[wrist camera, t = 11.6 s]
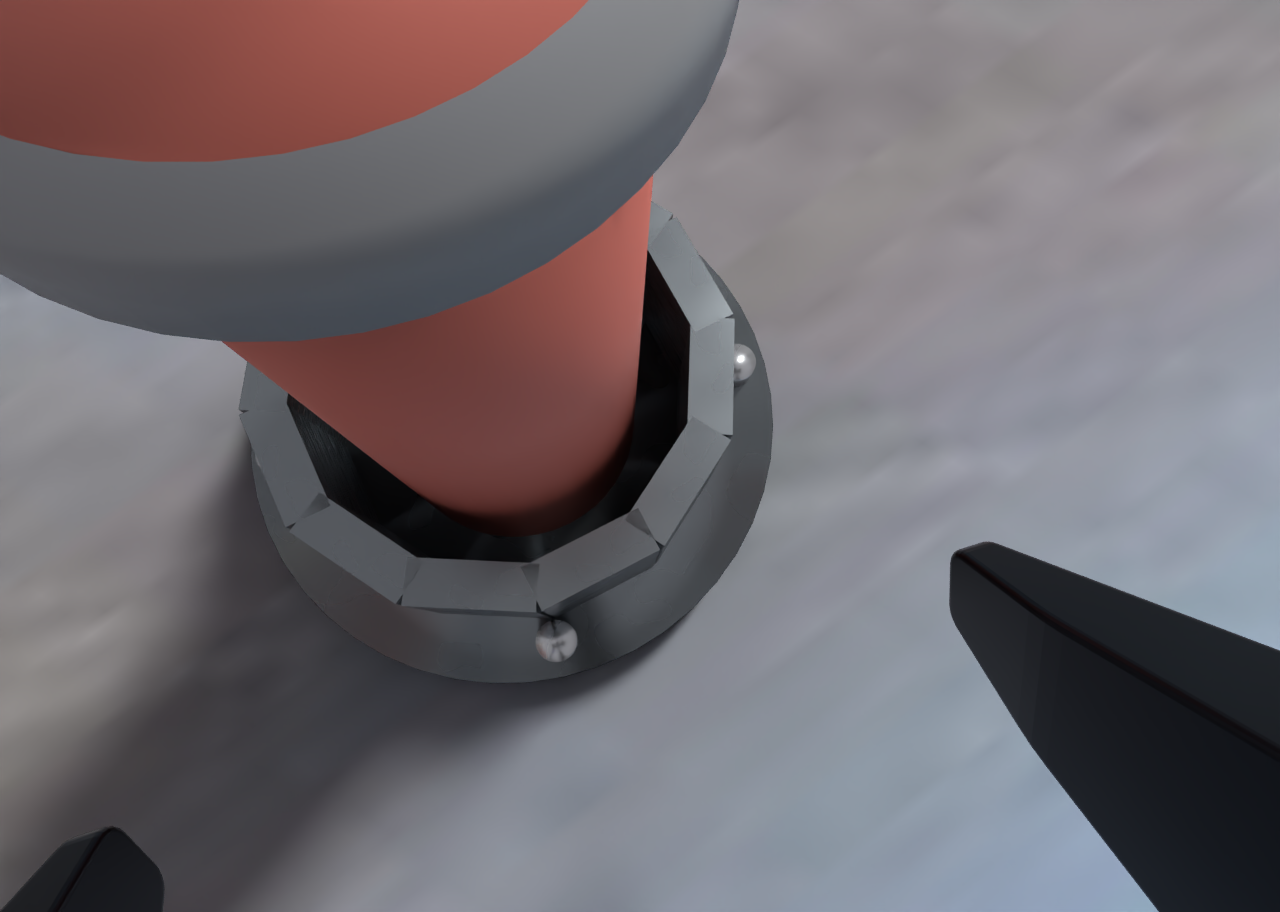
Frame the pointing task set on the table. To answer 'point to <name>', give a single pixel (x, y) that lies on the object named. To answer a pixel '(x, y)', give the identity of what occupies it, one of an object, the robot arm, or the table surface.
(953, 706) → the table surface
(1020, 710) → the robot arm
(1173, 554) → the table surface
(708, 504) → the pipe socket
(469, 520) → the orange capped cylinder
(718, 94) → the table surface
